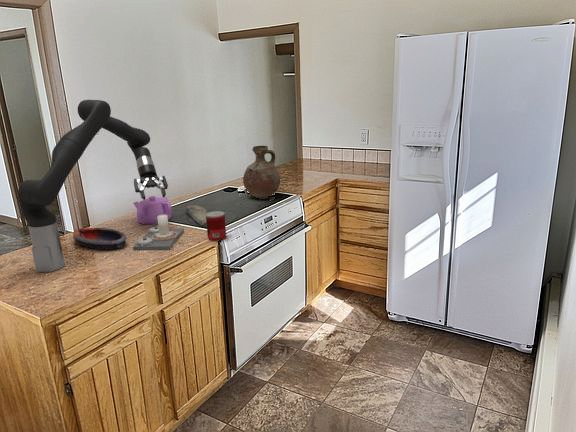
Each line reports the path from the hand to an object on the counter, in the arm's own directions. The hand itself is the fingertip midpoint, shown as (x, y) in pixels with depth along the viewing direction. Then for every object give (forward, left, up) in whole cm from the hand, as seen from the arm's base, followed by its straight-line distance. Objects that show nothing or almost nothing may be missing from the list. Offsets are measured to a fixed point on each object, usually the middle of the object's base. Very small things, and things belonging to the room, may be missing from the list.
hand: (154, 197), depth 194 cm
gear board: (-10, -4, -17) cm, 20 cm away
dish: (-12, +22, -17) cm, 30 cm away
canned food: (-8, -28, -17) cm, 34 cm away
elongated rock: (+23, -14, -17) cm, 32 cm away
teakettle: (+21, +9, -17) cm, 28 cm away
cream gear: (-10, -6, -15) cm, 19 cm away
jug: (+63, -42, -17) cm, 78 cm away
